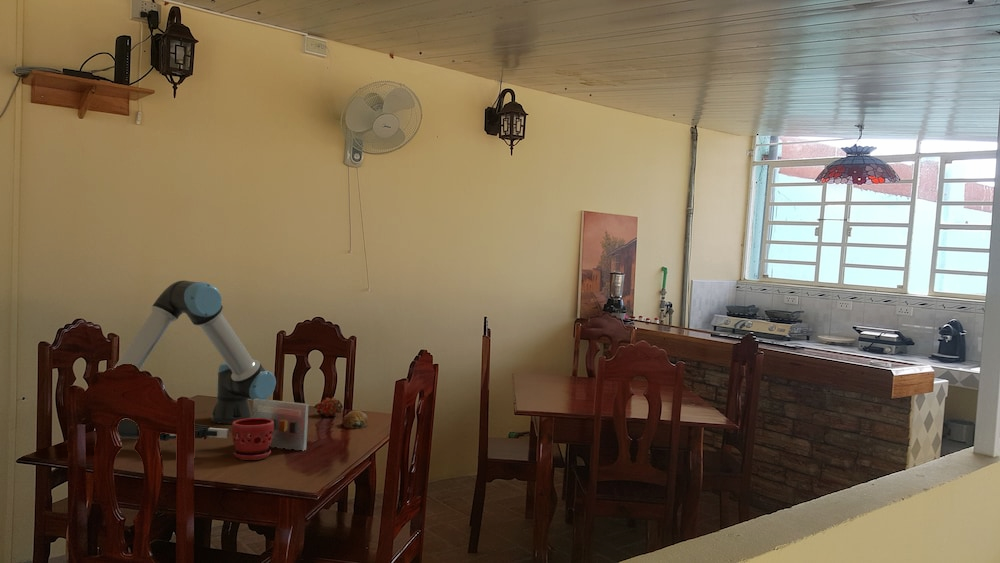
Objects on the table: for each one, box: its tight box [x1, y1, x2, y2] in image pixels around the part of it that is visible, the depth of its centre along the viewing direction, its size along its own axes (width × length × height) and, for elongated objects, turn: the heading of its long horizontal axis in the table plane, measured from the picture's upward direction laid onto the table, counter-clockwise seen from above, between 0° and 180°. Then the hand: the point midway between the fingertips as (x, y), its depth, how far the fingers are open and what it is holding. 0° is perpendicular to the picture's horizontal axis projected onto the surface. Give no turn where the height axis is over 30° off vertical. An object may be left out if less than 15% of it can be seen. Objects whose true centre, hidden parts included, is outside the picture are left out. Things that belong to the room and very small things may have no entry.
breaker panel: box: [252, 398, 309, 452], centre depth 250 cm, size 20×3×16 cm, turn 78°
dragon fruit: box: [313, 396, 344, 418], centre depth 303 cm, size 8×8×12 cm
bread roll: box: [342, 410, 369, 429], centre depth 288 cm, size 10×10×8 cm
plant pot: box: [231, 418, 274, 461], centre depth 237 cm, size 13×13×12 cm
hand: (227, 433), depth 237 cm, fingers closed
